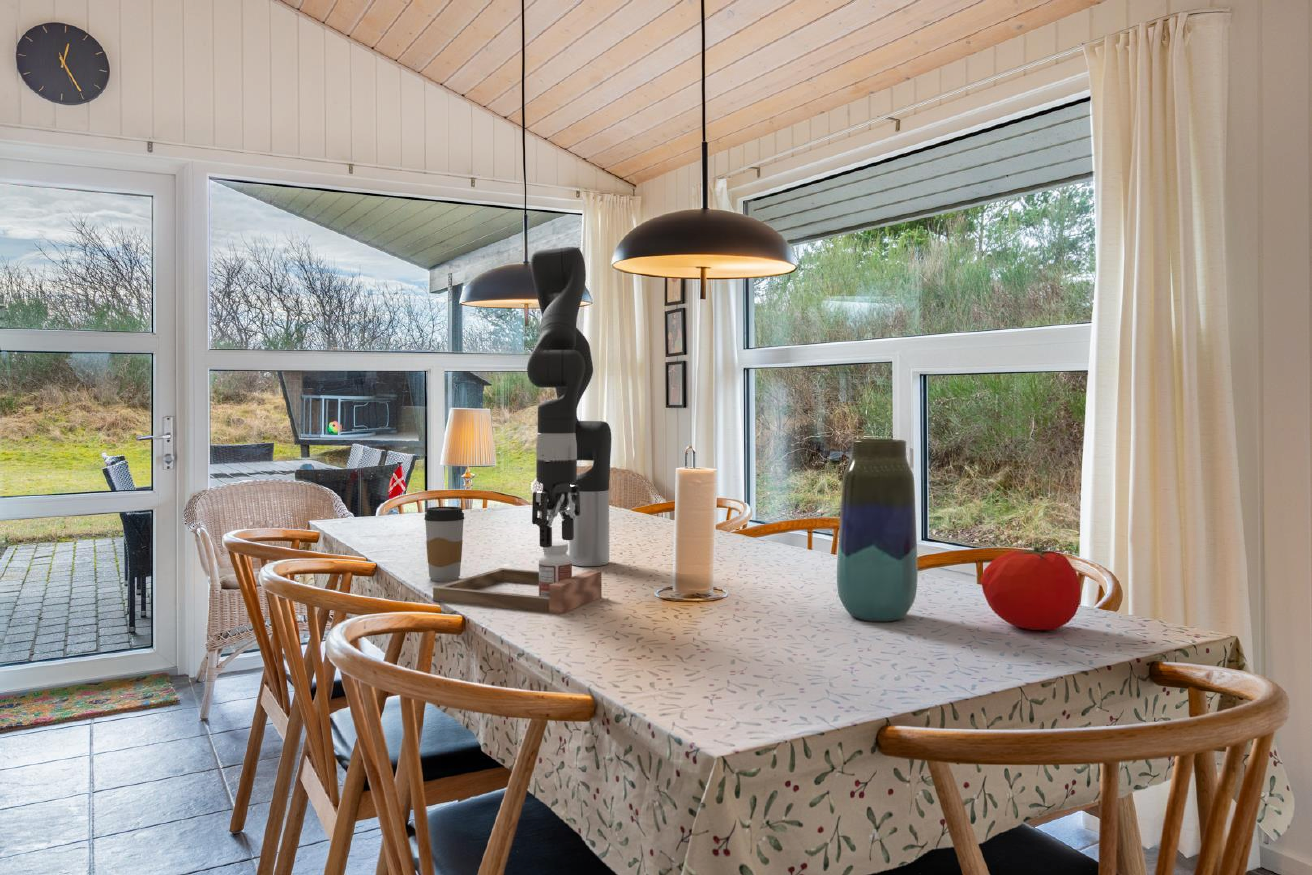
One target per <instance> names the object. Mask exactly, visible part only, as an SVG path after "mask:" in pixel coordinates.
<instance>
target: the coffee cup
mask: <svg viewBox="0 0 1312 875" xmlns="http://www.w3.org/2000/svg"><path fill="white" fill-rule="evenodd" d="M464 520H465V512H463V508H462V507H460V506H431V507H427V508H426V511H425V513H424V522H425V535H426V542H425V544H426V558H427V563H428V577H429V578H430V581H432V582H455V581H458V580H460V579H459V578H460V576H461V564H462V558H463V557H462V555H463V553H462V552H463V543H464V542H463V537H464V536H463V535H464Z"/></svg>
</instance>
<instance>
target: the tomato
mask: <svg viewBox="0 0 1312 875" xmlns="http://www.w3.org/2000/svg"><path fill="white" fill-rule="evenodd" d="M1044 547H1045V544H1042V546H1040V547H1038V546H1034V547H1033V550H1030V549H1024V550H1013V551H1009V552H1005V553H1003V554H1002V555H999V556H998V557H996V558H994V559H993V560H992V561H991V562H990V563H989V564H988V565H987V566H986V567H985V569H984V570H983V571H982V572H983V573H982V576H981V579H980V583H981V588H982V592H983V593H982V594H983V595H984V598H985V600H986V601H987V604H988V606H989V607H990V608H991V610H992V611H993V612H994V614H996V615H997V616H998V617H999V618H1000V619H1002V621H1005V622H1006V623H1008V624H1010V625H1012V626H1014V627H1018V628H1021V629H1024V628H1025V629H1024V630H1028V629H1030V630H1029V631H1054V630H1056V629H1058V628H1061V627H1062V626H1065V625H1067V624H1068V623H1070V621H1071V620H1073V619H1074V616H1076V613H1077V611H1078V609H1079V606H1080V600H1081V583H1080V580H1079V577H1078V573H1077V571H1076V570H1075V568H1074V567H1073V565H1072V564H1071V562H1070V561H1069V559H1068V558H1067V557H1066V556H1065V555H1064V554H1061V553H1060V552H1061V550H1043V549H1044Z"/></svg>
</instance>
